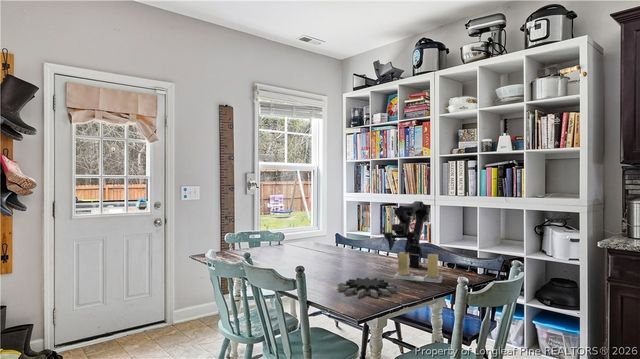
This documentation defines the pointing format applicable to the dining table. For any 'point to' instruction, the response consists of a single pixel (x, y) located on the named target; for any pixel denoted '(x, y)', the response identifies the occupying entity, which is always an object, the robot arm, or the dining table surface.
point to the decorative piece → (367, 287)
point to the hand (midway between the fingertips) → (397, 250)
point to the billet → (403, 263)
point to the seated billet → (433, 266)
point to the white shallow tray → (418, 278)
